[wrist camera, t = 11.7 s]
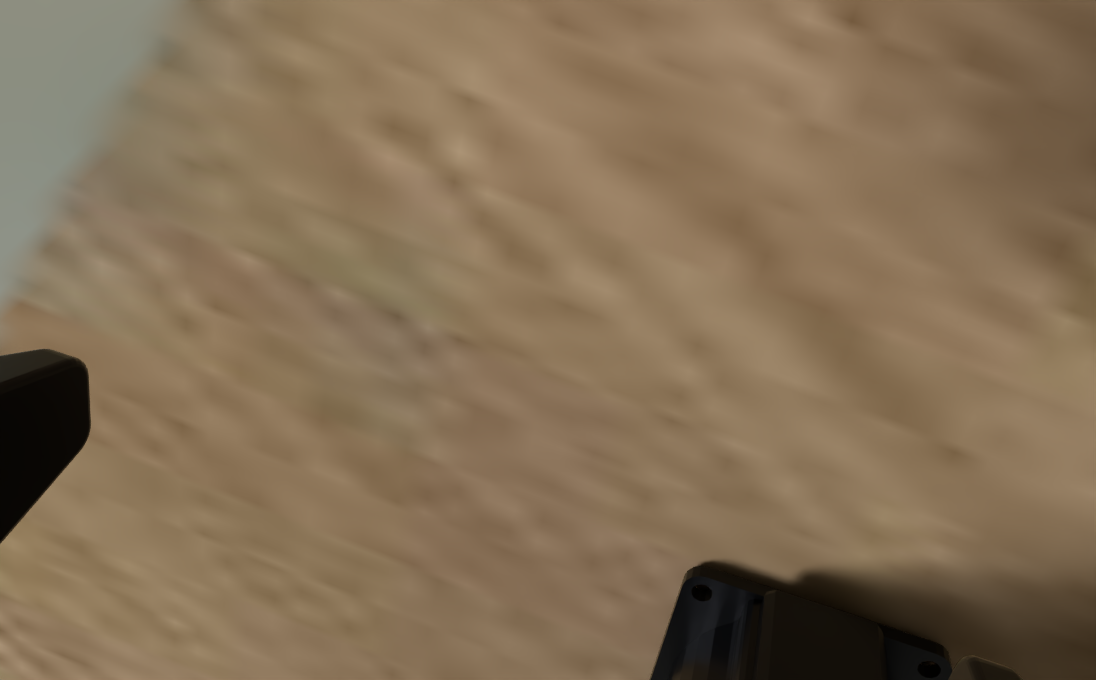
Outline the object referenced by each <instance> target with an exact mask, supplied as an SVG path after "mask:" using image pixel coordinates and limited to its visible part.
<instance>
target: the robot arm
mask: <svg viewBox="0 0 1096 680" xmlns="http://www.w3.org/2000/svg"><path fill="white" fill-rule="evenodd" d="M90 428H91V417H90V396H89V375H88V370H87V368H86V365H85V364H84V362H82V361H81V360H80V359H78V358H75V357H72V356H69V355H66V354H63V353H60V352H57V351H54V350H50V349H39V350H33V351H27V352H20V353H14V354H8V355H2V356H0V543H1V542H2V541H3V540H4V539H5V538H6V537H7V536H8V534H9V533H10V532H11V531H12V530H13V529H14V527H15V526H16V525H17V524H18V523H19V522H20V520H21V519H22V518H23V517H24V516H25V515H26V513H27V512H28V511H29V510H30V509H31V508H32V506H33V505H34V504H35V503H36V502H37V501H38V499H39V498H40V497H41V496H42V495H43V494H44V492H45V491H46V490H47V489H48V488H49V487H50V485H51V484H52V483H53V482H54V481H55V480H56V478H57V477H58V476H59V475H60V474H61V473H62V471H63V470H64V469H65V468H66V467H67V466H68V464H69V463H70V462H71V461H72V460H73V459H74V457H75V456H76V455H77V454H78V453H79V452H80V450H81V449H82V448H83V446H84V444H85V443H86V441H87V438H88V436H89V432H90ZM699 584H700V585H705V586H707V587H709V588H710V589H711V590H708V591H702V590H699V589H698V588H696V585H699ZM924 661H932V662H935V663H936V664H935V665H932V666H926V665H922V664H921V662H924ZM650 680H1023V679H1022V678H1021V677H1020V676H1019V674H1018V673H1017V672H1016V671H1014V670H1013V669H1012V668H1010V667H1007V666H1005V665H1002V664H999V663H996V662H993V661H989V660H986V659H983V658H980V657H977V656H974V655H969V656H965V657H963V658H962V659H961V660H960V661H959V662H958V663H957V665H956V666H955V668H954V670H953V672H952V666H951V660H950V656H949V653H948V651H947V650H946V649H945V648H944V647H943V646H941V645H939V644H938V643H936V642H933V641H930V640H927V639H924V638H921V637H918V636H915V635H911V634H908V633H905V632H902V631H899V630H896V629H893V628H890V627H887V626H884V625H881V624H878V623H875V622H873V621H870V620H867V619H864V618H861V617H858V616H855V615H852V614H849V613H846V612H843V611H840V610H837V609H834V608H831V607H828V606H825V605H822V604H819V603H816V602H813V601H810V600H807V599H804V598H801V597H798V596H795V595H792V594H789V593H786V592H783V591H779V590H776V589H773V588H770V587H767V586H764V585H761V584H758V583H755V582H752V581H749V580H746V579H743V578H740V577H737V576H734V575H731V574H728V573H725V572H722V571H719V570H716V569H713V568H710V567H704V566H698V567H693V568H692V569H690V570H688V571H687V573H686V574H685V576H684V579H683V582H682V584H681V587H680V590H679V593H678V596H677V599H676V602H675V605H674V608H673V611H672V614H671V617H670V620H669V623H668V626H667V629H666V632H665V635H664V638H663V641H662V644H661V647H660V650H659V653H658V656H657V659H656V662H655V665H654V668H653V671H652V674H651V677H650Z"/></svg>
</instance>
